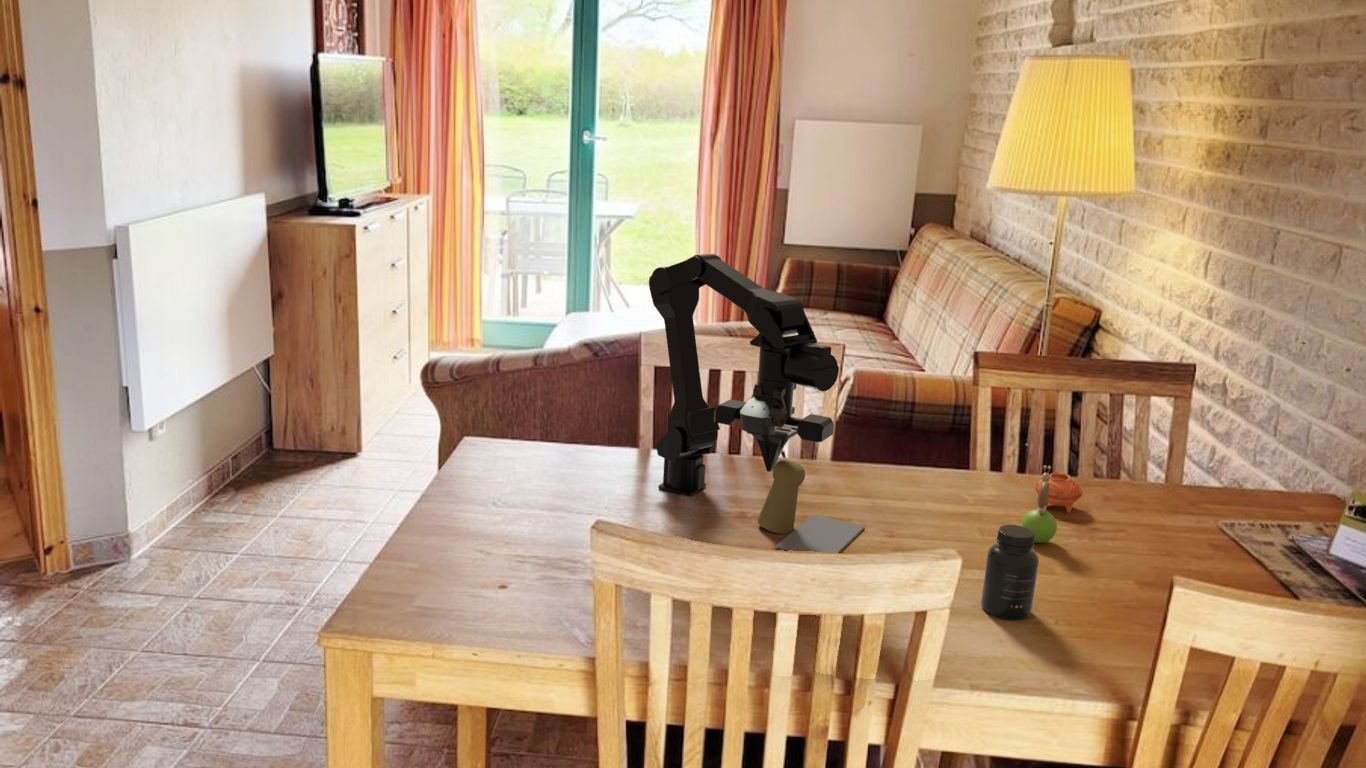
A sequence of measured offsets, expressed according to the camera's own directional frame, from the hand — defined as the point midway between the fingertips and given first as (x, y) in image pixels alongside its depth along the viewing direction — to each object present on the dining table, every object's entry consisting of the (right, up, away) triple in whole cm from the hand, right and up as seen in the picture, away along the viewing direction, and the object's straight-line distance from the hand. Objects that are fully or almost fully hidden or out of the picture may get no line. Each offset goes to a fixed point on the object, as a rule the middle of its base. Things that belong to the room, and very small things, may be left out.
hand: (769, 471), depth 173 cm
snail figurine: (+44, -12, +2) cm, 46 cm away
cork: (+1, -9, +2) cm, 9 cm away
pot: (+52, -8, +18) cm, 56 cm away
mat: (+8, -11, -2) cm, 13 cm away
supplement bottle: (+31, -18, -23) cm, 43 cm away
